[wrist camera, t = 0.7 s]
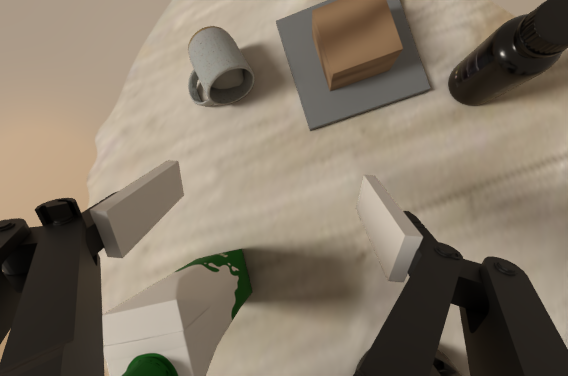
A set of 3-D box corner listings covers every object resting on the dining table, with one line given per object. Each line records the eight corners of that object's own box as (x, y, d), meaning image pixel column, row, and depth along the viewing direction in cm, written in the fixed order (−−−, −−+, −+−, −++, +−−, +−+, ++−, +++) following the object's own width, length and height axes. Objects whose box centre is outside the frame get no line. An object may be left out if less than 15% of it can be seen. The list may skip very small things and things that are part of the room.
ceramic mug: (236, 45, 37) (216, 7, 29) (260, 86, 36) (246, 59, 28) (184, 81, 38) (152, 54, 30) (207, 121, 37) (180, 104, 30)
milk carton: (209, 306, 36) (86, 444, 17) (196, 252, 37) (62, 324, 17) (259, 296, 35) (193, 429, 16) (245, 241, 36) (164, 301, 16)
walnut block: (389, 70, 33) (403, 48, 28) (329, 91, 34) (332, 73, 29) (370, 14, 33) (380, -17, 28) (312, 36, 34) (312, 10, 29)
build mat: (426, 91, 33) (430, 88, 32) (310, 130, 35) (310, 128, 34) (388, -19, 34) (390, -26, 33) (276, 25, 36) (275, 21, 35)
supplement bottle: (501, 63, 32) (616, -14, 20) (492, 110, 32) (600, 61, 20) (450, 57, 33) (531, -20, 21) (441, 103, 33) (516, 52, 21)
